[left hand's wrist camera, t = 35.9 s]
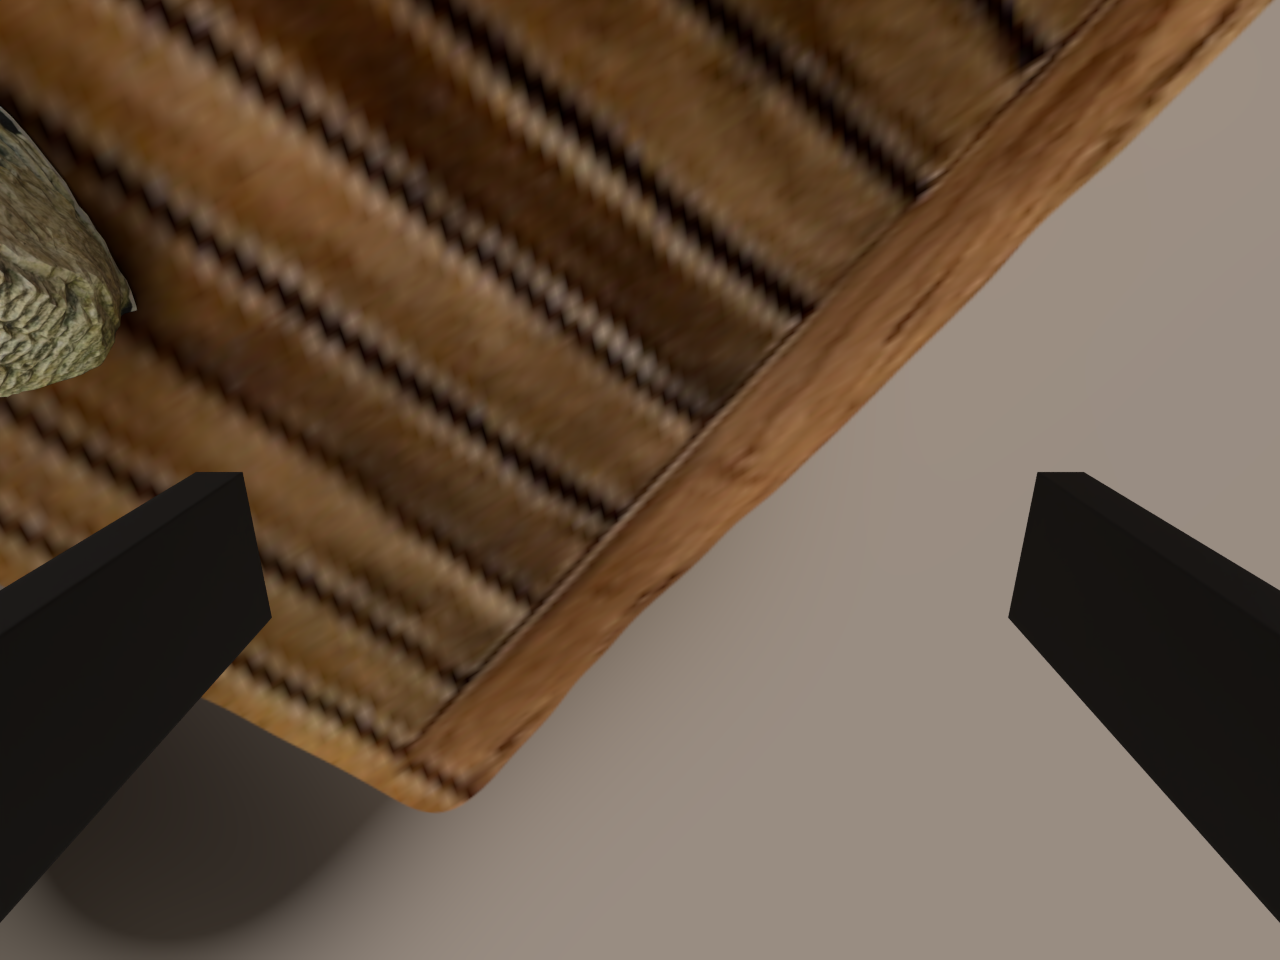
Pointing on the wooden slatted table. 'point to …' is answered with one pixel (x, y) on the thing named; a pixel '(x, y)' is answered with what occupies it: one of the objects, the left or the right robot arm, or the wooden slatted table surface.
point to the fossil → (50, 274)
